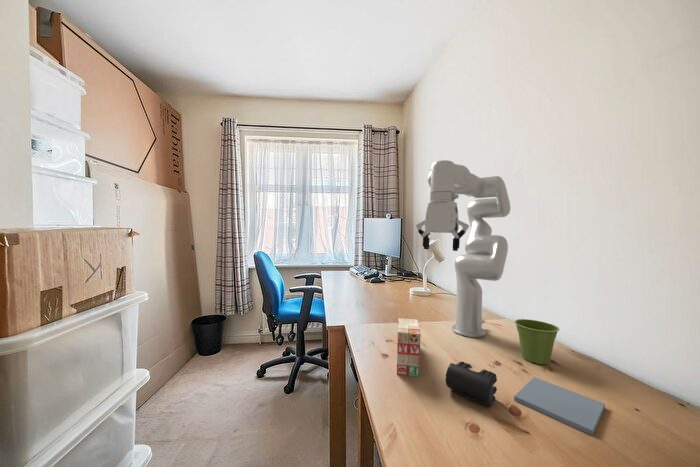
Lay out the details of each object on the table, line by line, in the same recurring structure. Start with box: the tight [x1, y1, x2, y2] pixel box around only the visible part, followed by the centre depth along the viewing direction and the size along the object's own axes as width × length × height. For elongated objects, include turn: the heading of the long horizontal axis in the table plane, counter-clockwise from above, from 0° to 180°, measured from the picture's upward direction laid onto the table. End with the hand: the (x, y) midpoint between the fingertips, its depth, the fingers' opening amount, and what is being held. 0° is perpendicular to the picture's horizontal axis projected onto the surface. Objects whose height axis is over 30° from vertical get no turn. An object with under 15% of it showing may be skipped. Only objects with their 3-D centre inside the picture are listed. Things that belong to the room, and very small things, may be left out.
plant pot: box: [513, 318, 560, 365], centre depth 84 cm, size 12×12×11 cm
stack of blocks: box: [396, 317, 421, 378], centre depth 83 cm, size 21×6×12 cm, turn 169°
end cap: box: [445, 360, 498, 407], centre depth 64 cm, size 10×7×7 cm
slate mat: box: [513, 376, 606, 437], centre depth 62 cm, size 14×14×1 cm
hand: (440, 249), depth 88 cm, fingers open, 9 cm apart
